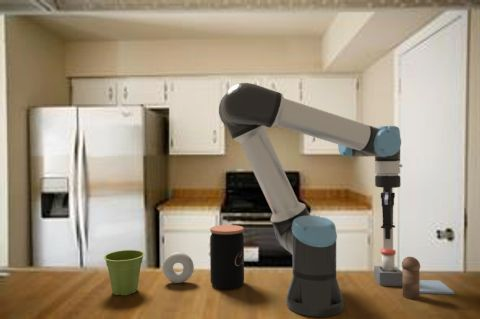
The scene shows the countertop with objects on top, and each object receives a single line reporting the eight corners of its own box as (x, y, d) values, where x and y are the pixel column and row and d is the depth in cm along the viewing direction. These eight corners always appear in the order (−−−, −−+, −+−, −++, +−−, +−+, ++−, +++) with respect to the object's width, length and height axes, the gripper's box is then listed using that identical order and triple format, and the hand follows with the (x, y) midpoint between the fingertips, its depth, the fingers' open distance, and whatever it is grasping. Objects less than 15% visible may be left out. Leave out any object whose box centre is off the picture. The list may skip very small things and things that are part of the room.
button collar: (379, 285, 114) (379, 272, 114) (374, 278, 121) (374, 265, 121) (403, 286, 114) (403, 273, 114) (396, 278, 121) (396, 266, 121)
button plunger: (382, 275, 116) (382, 251, 116) (379, 270, 120) (379, 248, 120) (397, 275, 115) (397, 252, 115) (393, 271, 119) (393, 248, 119)
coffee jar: (240, 291, 110) (240, 232, 110) (206, 289, 112) (205, 230, 112) (247, 280, 121) (246, 225, 121) (215, 278, 123) (215, 224, 123)
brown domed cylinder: (405, 299, 103) (404, 259, 103) (399, 293, 108) (399, 254, 108) (423, 300, 103) (422, 259, 103) (416, 293, 107) (416, 254, 107)
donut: (161, 285, 116) (161, 253, 116) (163, 281, 120) (163, 251, 120) (193, 284, 117) (193, 253, 117) (194, 280, 120) (194, 250, 120)
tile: (418, 293, 108) (418, 290, 108) (406, 281, 118) (406, 279, 118) (454, 294, 107) (454, 292, 107) (439, 282, 117) (439, 280, 117)
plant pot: (95, 295, 109) (94, 257, 109) (125, 282, 119) (124, 248, 119) (124, 302, 103) (124, 262, 103) (153, 288, 114) (152, 252, 113)
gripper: (399, 175, 110) (399, 254, 110) (401, 173, 121) (402, 245, 122) (372, 175, 113) (373, 252, 113) (377, 173, 125) (378, 242, 125)
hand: (388, 248), depth 117 cm, fingers closed
